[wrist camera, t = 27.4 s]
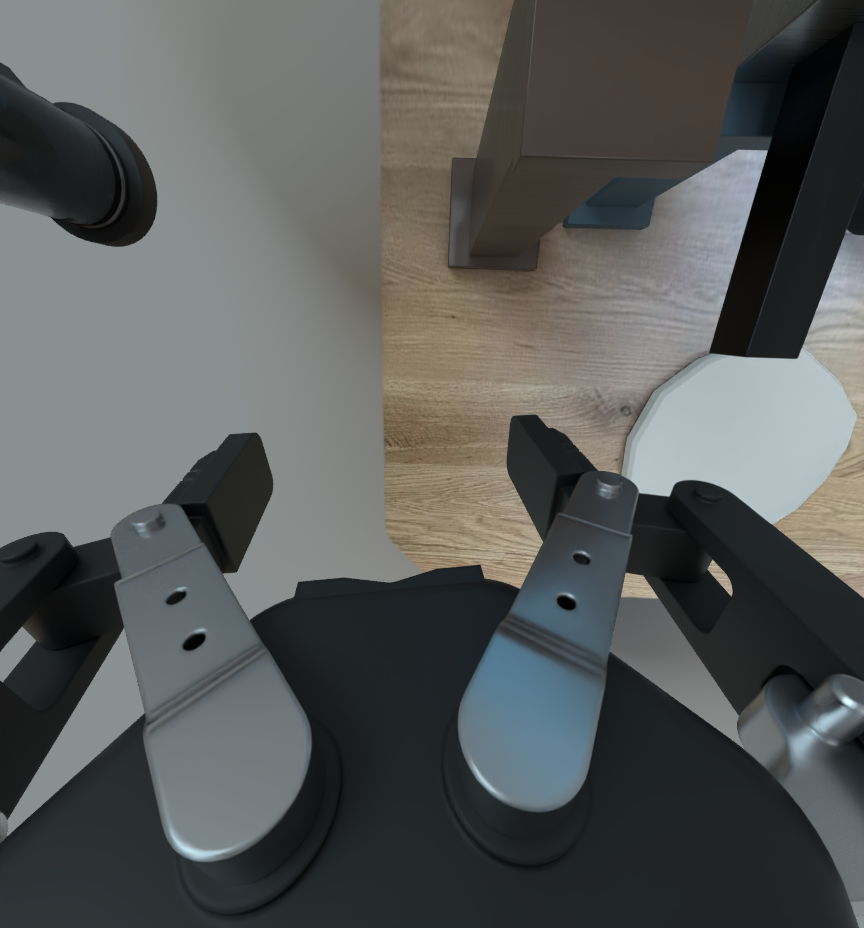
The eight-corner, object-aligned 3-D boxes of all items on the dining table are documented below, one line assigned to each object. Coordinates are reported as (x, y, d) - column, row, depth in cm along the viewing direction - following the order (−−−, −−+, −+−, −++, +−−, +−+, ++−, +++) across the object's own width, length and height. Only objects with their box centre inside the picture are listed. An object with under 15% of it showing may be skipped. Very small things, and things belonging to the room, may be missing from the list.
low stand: (640, 235, 37) (863, 139, 18) (561, 233, 37) (698, 135, 18) (665, 110, 34) (980, -184, 14) (578, 107, 34) (773, -189, 14)
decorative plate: (775, 292, 35) (914, 439, 40) (742, 295, 39) (872, 428, 44) (589, 482, 43) (725, 585, 48) (576, 468, 47) (704, 566, 52)
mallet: (776, 354, 21) (870, 363, 17) (656, 350, 21) (717, 358, 17) (939, -105, 15) (1167, -300, 10) (767, -111, 15) (917, -307, 10)
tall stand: (532, 276, 39) (762, 164, 11) (447, 273, 39) (471, 155, 11) (545, 160, 35) (930, -418, 8) (452, 157, 35) (504, -429, 8)
